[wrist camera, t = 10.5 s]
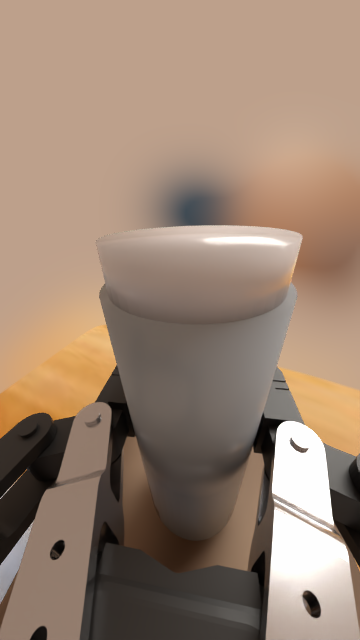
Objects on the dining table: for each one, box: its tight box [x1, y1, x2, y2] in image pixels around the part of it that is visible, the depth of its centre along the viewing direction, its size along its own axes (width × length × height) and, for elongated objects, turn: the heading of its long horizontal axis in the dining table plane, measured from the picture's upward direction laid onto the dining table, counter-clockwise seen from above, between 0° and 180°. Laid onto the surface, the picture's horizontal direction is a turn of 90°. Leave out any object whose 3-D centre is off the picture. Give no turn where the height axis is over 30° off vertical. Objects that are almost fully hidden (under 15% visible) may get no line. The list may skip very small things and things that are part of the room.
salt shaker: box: [96, 226, 303, 541], centre depth 8 cm, size 5×5×13 cm
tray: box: [0, 436, 360, 632], centre depth 12 cm, size 14×14×3 cm
